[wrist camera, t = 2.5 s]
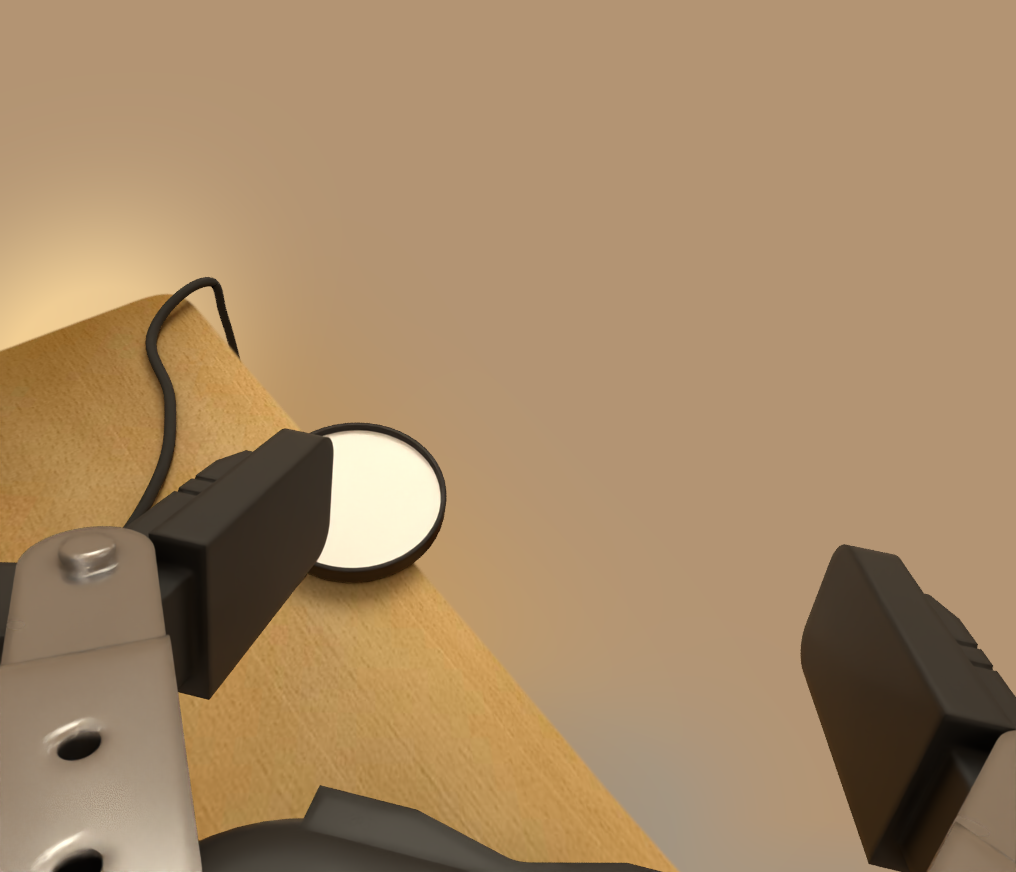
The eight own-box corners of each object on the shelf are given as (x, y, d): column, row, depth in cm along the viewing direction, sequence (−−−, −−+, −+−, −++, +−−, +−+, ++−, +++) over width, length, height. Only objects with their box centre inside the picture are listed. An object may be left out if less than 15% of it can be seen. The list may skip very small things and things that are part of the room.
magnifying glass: (55, 559, 44) (43, 541, 42) (386, 414, 56) (387, 396, 54) (128, 728, 39) (117, 715, 37) (478, 529, 50) (482, 513, 49)
